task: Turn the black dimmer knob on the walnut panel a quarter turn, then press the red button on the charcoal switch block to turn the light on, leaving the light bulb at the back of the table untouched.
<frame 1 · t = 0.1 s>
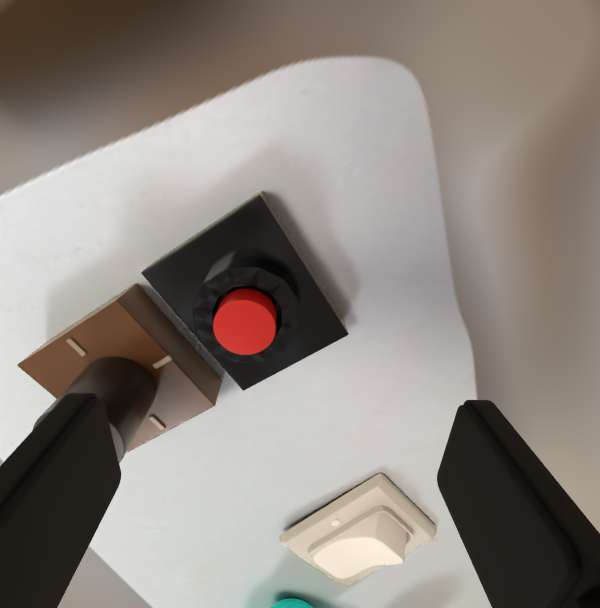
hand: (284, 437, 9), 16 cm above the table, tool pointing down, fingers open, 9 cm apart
switch block: (253, 292, 24), on the table
light switch: (357, 525, 36), on the table
dimmer knob: (100, 413, 21), point 6 cm above the table, hinge at 0.0°
power button: (246, 321, 20), point 4 cm above the table, slide at 0.1 cm
dimmer panel: (137, 362, 26), on the table
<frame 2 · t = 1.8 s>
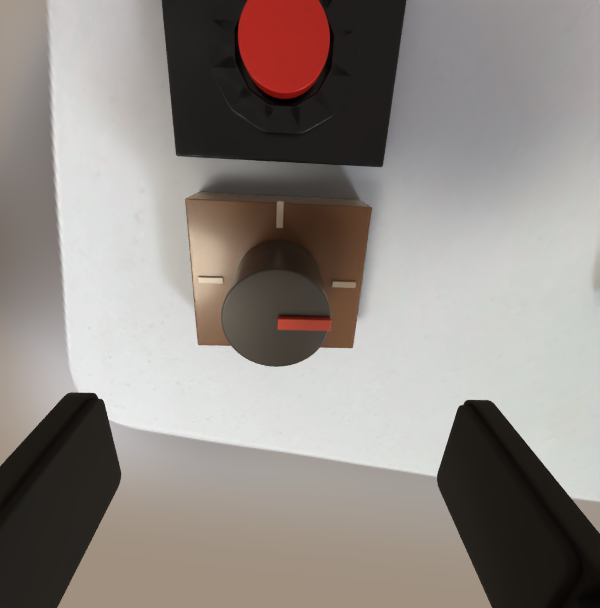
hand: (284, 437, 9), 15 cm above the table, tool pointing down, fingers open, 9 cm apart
switch block: (283, 69, 18), on the table
dimmer knob: (277, 300, 17), point 6 cm above the table, hinge at 0.0°
power button: (284, 45, 14), point 4 cm above the table, slide at 0.1 cm
dimmer panel: (278, 265, 23), on the table
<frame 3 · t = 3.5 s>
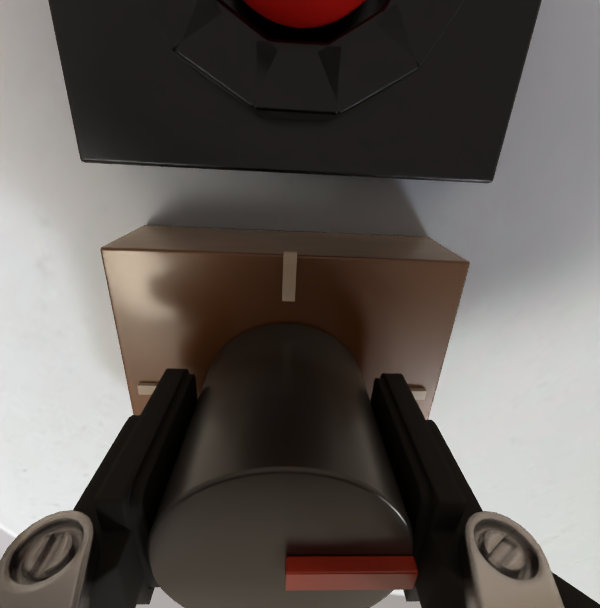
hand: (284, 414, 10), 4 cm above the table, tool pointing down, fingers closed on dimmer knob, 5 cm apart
dimmer knob: (283, 459, 8), point 6 cm above the table, hinge at 0.0°, touching gripper
dimmer panel: (285, 341, 14), on the table
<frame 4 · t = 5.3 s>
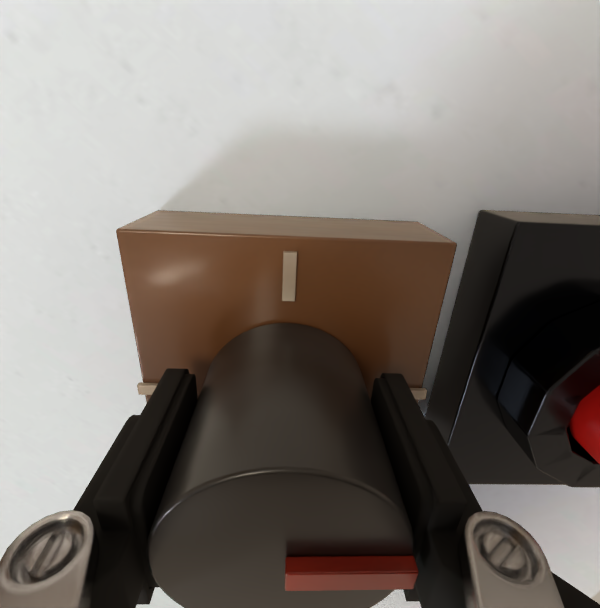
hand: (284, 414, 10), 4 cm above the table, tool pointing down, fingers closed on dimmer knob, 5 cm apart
switch block: (547, 348, 14), on the table
dimmer knob: (283, 459, 8), point 6 cm above the table, hinge at 90.4°, touching gripper
dimmer panel: (285, 341, 14), on the table
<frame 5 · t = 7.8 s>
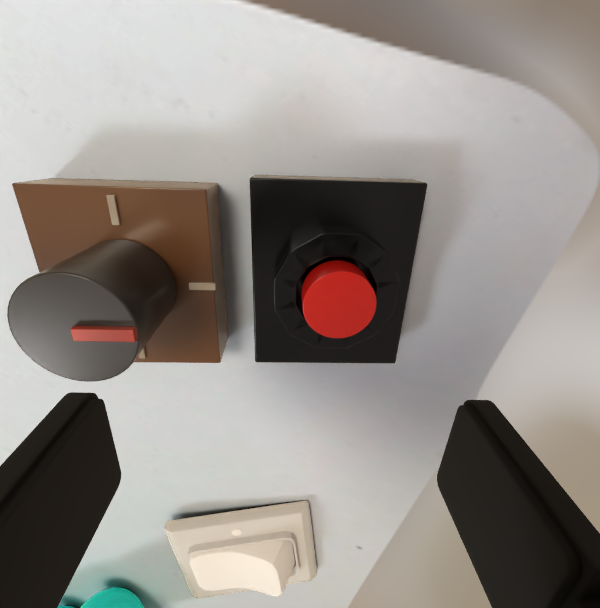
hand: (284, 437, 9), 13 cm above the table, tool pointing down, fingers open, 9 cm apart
switch block: (327, 270, 21), on the table
light switch: (247, 540, 33), on the table
donuts: (102, 599, 36), on the table
dimmer knob: (103, 306, 16), point 6 cm above the table, hinge at 89.6°
power button: (337, 299, 17), point 4 cm above the table, slide at 0.1 cm
dimmer panel: (150, 266, 21), on the table
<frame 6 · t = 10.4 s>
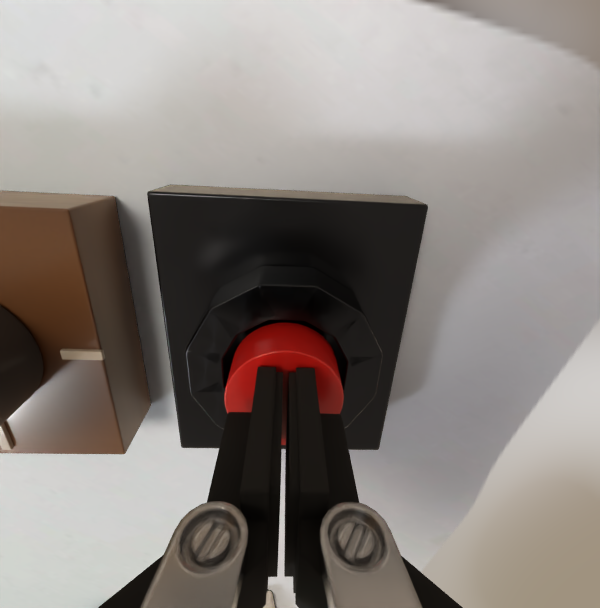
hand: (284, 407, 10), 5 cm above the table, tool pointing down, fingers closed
switch block: (285, 319, 15), on the table
power button: (284, 383, 11), point 4 cm above the table, slide at 0.1 cm, touching gripper
dimmer panel: (28, 312, 14), on the table
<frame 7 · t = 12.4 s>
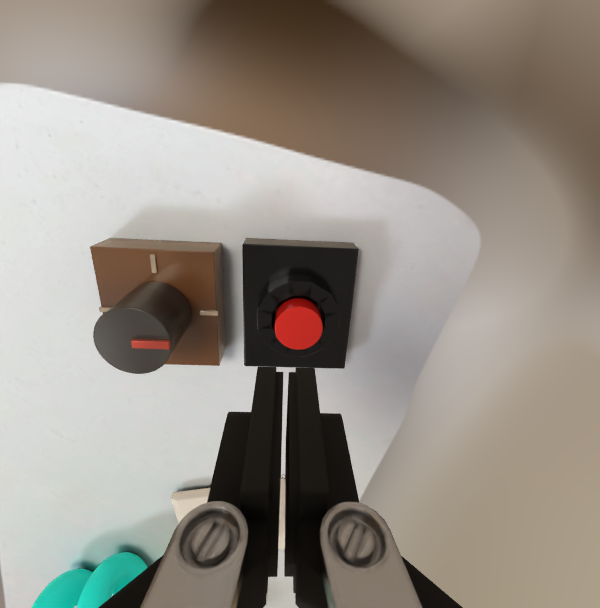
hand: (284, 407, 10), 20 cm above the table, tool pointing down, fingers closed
switch block: (297, 301, 30), on the table
light switch: (236, 512, 41), on the table
donuts: (114, 564, 44), on the table
dimmer knob: (146, 326, 24), point 6 cm above the table, hinge at 89.6°
power button: (298, 323, 26), point 4 cm above the table, slide at 0.1 cm
dimmer panel: (171, 297, 29), on the table
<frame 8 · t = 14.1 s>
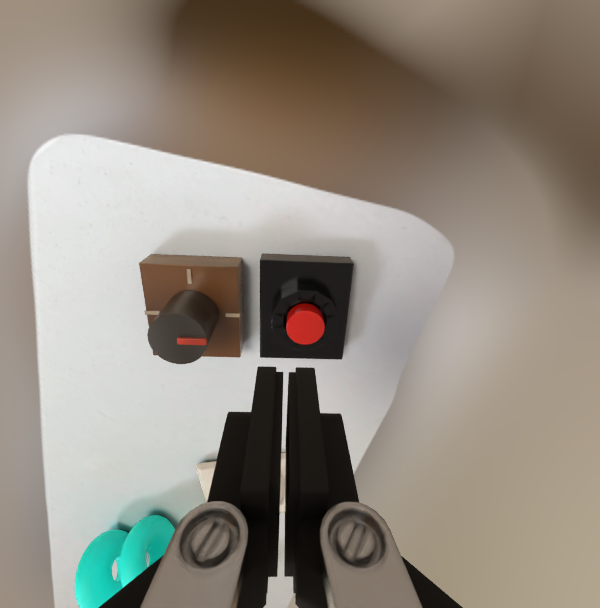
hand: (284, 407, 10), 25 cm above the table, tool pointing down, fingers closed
switch block: (303, 304, 36), on the table
light switch: (250, 481, 48), on the table
donuts: (145, 526, 51), on the table
dimmer knob: (185, 326, 31), point 6 cm above the table, hinge at 89.6°
power button: (305, 323, 32), point 4 cm above the table, slide at 0.1 cm
dimmer panel: (200, 301, 36), on the table
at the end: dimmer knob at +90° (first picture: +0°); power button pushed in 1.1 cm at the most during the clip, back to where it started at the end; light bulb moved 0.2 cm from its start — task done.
